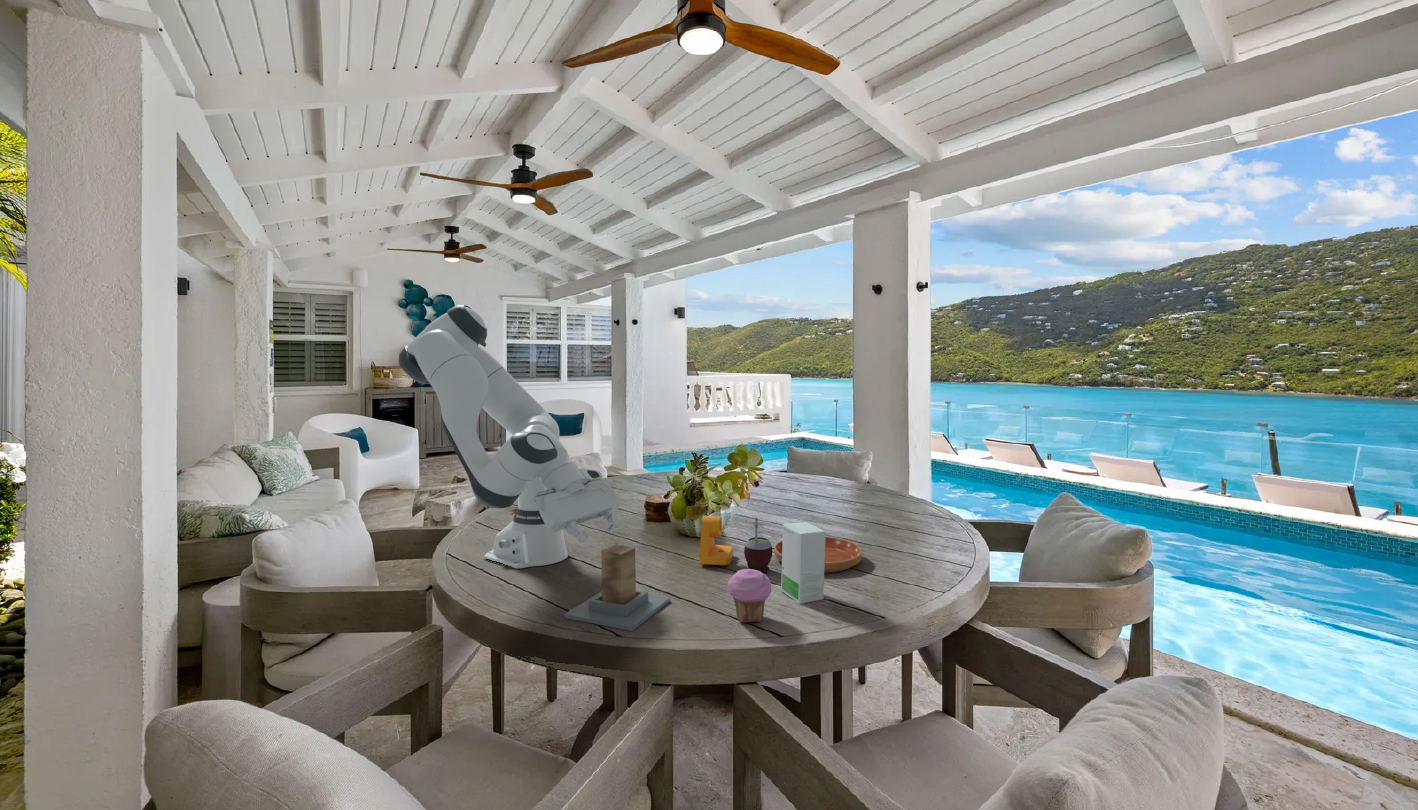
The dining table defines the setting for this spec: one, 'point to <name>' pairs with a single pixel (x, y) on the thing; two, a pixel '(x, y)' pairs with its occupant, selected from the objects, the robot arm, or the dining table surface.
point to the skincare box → (803, 562)
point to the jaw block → (618, 574)
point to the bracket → (707, 547)
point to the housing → (618, 611)
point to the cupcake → (749, 594)
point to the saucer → (834, 554)
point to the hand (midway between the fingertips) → (600, 534)
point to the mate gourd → (758, 552)
